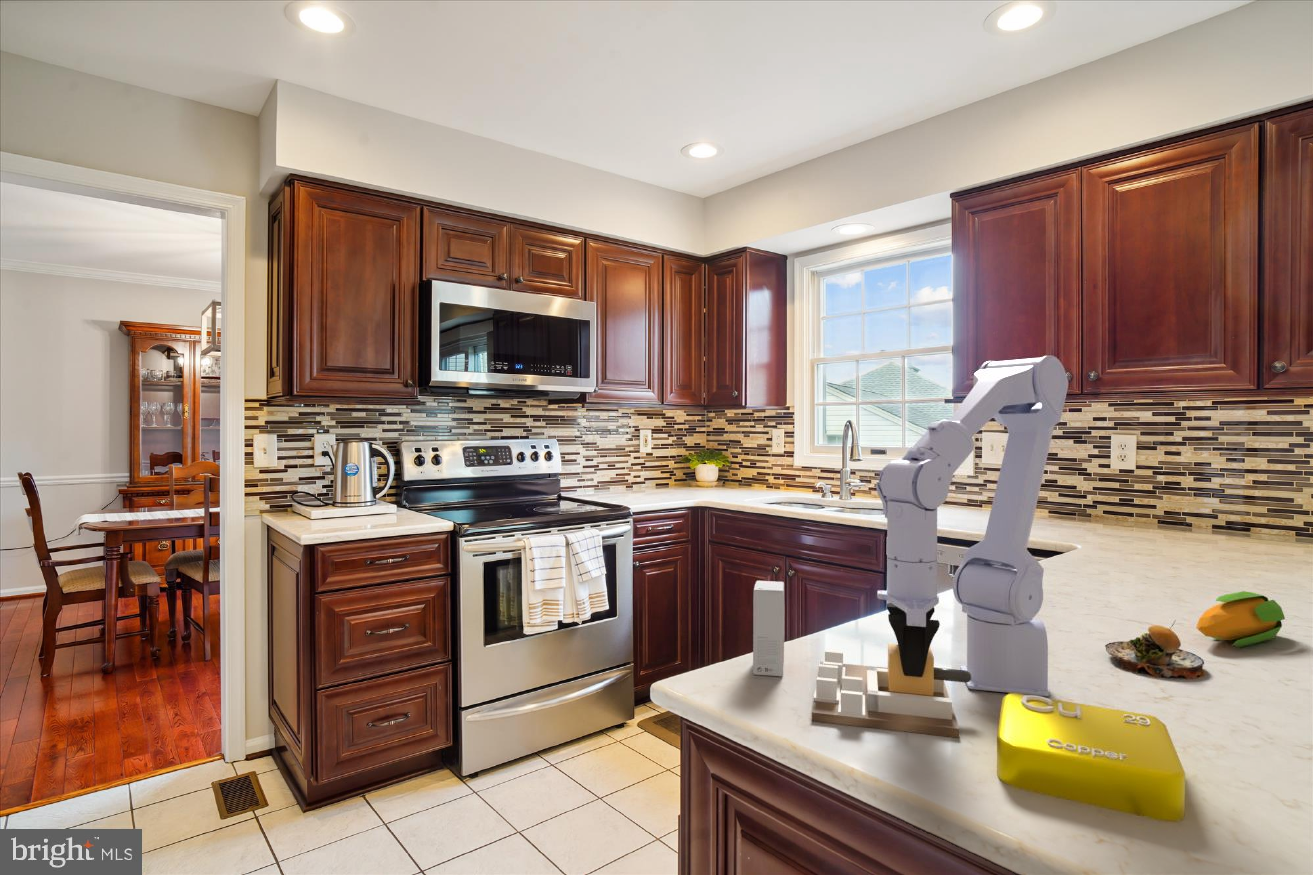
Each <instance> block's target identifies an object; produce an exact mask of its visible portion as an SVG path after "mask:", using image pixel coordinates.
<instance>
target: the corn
mask: <svg viewBox="0 0 1313 875" xmlns="http://www.w3.org/2000/svg"><path fill="white" fill-rule="evenodd" d="M1215 602H1221V603H1218V604H1215V605H1213V606H1212V607H1210V608H1208V609H1207V610H1205V611H1204V612H1203V613H1202V615H1201V616H1200V617H1199V618H1198V622H1197V624H1196V629H1197V631H1199V632H1200V633H1201V634H1202V635H1204V636H1205V637H1208V638H1213V639H1215V640H1219V641H1225V640H1226V641H1233V640H1234V641H1235V640H1236V641H1235V642H1233V644H1231V647H1232V646H1233V647H1237V648H1238V647H1239V648H1241V647H1247V646H1251V645H1254V644H1258V643H1262V642H1265V641H1269V640H1270V641H1271V640H1272V639H1275V638H1276V636H1277V635H1278V633H1279V632H1280V631H1281V629H1282V627H1283V624H1282V621H1283V620H1286V617H1285V614H1284V612H1283V611H1284V610H1283V609H1282V606H1281V605H1280V604H1279V603H1277V601H1276V600H1275V599H1271V600H1269V598H1268V597H1267V596H1265V595H1262V594H1260V593H1256V592H1252V591H1244V590H1243V591H1238V592H1232V593H1228V594H1227V593H1226V594H1224V595H1220V596H1218V597H1217V598H1216V600H1215Z"/></svg>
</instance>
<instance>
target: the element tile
mask: <svg viewBox="0 0 1313 875" xmlns="http://www.w3.org/2000/svg"><path fill="white" fill-rule="evenodd" d="M996 774H997V776H998V777H997V778H999V780H1000V781H1001V782H1003V783H1004V784H1006V785H1009V786H1011V787H1013V788H1017V789H1021V790H1024V791H1027V792H1028V791H1029V792H1033V793H1039V794H1042V795H1046V796H1051V797H1056V798H1061V799H1064V800H1068V801H1069V800H1070V801H1073V802H1078V803H1082V804H1087V805H1091V806H1096V807H1100V808H1104V809H1109V810H1113V811H1117V812H1122V813H1127V814H1131V815H1135V816H1140V817H1143V818H1144V817H1145V818H1147V819H1148V818H1149V819H1153V820H1159V821H1162V822H1163V821H1164V822H1180V821H1182V820H1183V819H1185V816H1186V815H1185V814H1186V812H1185V811H1186V810H1185V808H1186V773H1185V770H1184V767H1183V764H1182V761H1181V760H1180V758H1179V755H1178V752H1177V750H1176V748H1175V745H1174V743H1173V741H1172V738H1171V736H1170V734H1169V730H1168V728H1167V726H1166V724H1165V723H1164V722H1162V721H1161V720H1160V719H1159V718H1157V717H1156V716H1154V715H1150V714H1144V713H1139V712H1132V711H1126V710H1119V709H1114V708H1106V707H1101V706H1096V705H1090V704H1084V703H1083V704H1082V703H1077V702H1071V701H1066V700H1059V699H1053V698H1049V697H1048V698H1047V697H1046V696H1039V695H1028V694H1018V693H1008V694H1006V695H1004V696H1003V697H1002V700H1001V707H1000V715H999V719H998V727H997V734H996Z"/></svg>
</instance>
